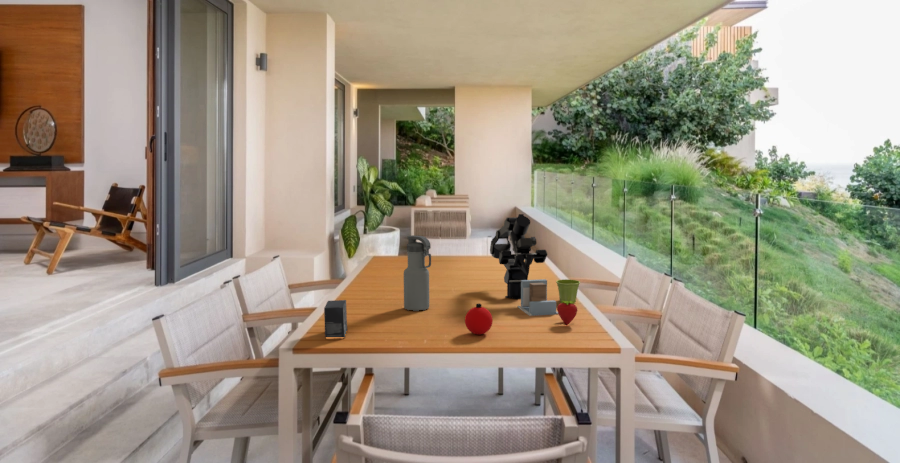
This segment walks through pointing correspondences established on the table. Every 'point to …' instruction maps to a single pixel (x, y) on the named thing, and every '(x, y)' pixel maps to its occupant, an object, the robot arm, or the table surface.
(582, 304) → the table surface
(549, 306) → the fixed jaw
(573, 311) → the strawberry
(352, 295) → the table surface
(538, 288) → the block
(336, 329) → the small box
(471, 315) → the ornament
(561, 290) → the plant pot
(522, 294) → the jaw
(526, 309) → the light blue base plate
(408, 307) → the water bottle
